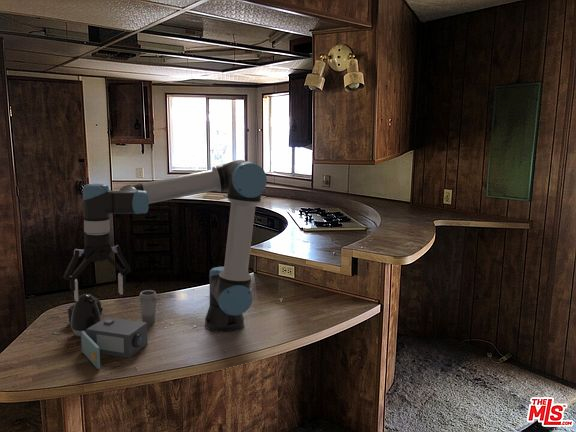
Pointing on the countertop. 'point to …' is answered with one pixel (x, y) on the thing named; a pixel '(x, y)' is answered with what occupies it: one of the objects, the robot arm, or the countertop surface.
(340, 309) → the countertop surface
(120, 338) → the box
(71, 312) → the camera
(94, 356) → the side door
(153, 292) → the cup
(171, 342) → the countertop surface
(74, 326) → the black egg shape
